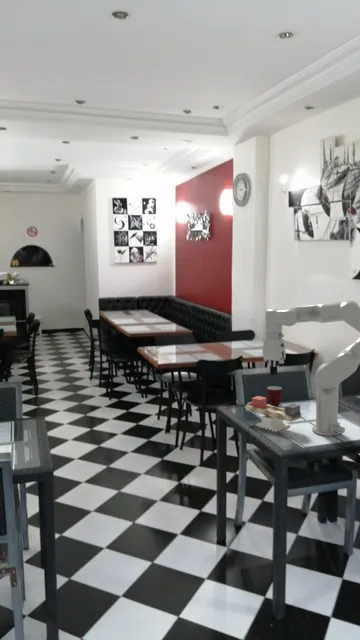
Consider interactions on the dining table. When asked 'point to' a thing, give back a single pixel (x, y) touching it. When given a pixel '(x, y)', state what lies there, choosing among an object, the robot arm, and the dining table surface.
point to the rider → (259, 402)
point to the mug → (274, 395)
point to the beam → (278, 411)
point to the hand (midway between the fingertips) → (273, 374)
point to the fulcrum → (272, 423)
